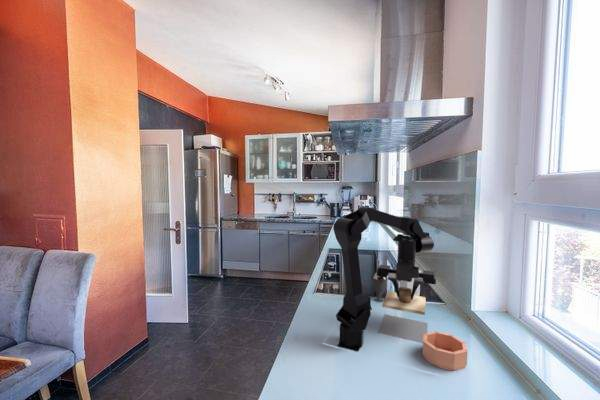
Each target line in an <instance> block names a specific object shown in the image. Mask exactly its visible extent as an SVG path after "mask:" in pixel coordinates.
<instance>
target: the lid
mask: <svg viewBox="0 0 600 400" xmlns="http://www.w3.org/2000/svg"><path fill="white" fill-rule="evenodd" d="M426 301H427V300H426V296H422V295H421V296H420V295H419V296H415V295H414V297H413V299H412V300H411V289H410V288H406V287H400V286H399V297H397V294H396V291H395V292H394V291H392V290H388V291H387V292H386V295H385V298H384V300H383V302H382V308H387V309H392V310H396V311H401V312H407V313H413V314H418V315H422V316H425V315H426Z"/></svg>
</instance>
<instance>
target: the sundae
mask: <svg viewBox="0 0 600 400" xmlns="http://www.w3.org/2000/svg"><path fill="white" fill-rule="evenodd" d="M370 278H371V280H372V284H373V290H374V292H375V293H376V294H377V295H376V298H374V299H373V301H374V302H376V303H383V302H384V300H383V299H382V298H381V294H382V293H383V292H384V290H385V285H386V281H387V280H388V277H381V276H377V271H376V272H375V273H374V275H371V276H370Z"/></svg>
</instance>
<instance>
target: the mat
mask: <svg viewBox="0 0 600 400" xmlns="http://www.w3.org/2000/svg"><path fill="white" fill-rule="evenodd" d="M428 324H429V323H428V322H425V321H420V320H414V319H410V318H405V317H401V316H400V317H399V316H395V315H391V314H386V313H384V315H383V318H382V321H381V323H380V325H379V328H378V331H377V333H379V334H383V335H387V336H391V337H394V338H395V337H396V338H399V339H404V340H408V341H412V342H417V343H420V344H423V336H424V333H428Z"/></svg>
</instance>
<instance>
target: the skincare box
mask: <svg viewBox="0 0 600 400" xmlns="http://www.w3.org/2000/svg"><path fill="white" fill-rule="evenodd" d="M419 273H422V271H421V270H420V269H419ZM413 283H414V278H412V281H411V282H407V281H402V280H401V281H399V288H400V287H406V288H410V289H411V294H412V288H413ZM420 291H421V285H419V286H418V288H417V289H416V292H415V294H414V295H415V296H420V293H421V292H420Z"/></svg>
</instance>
